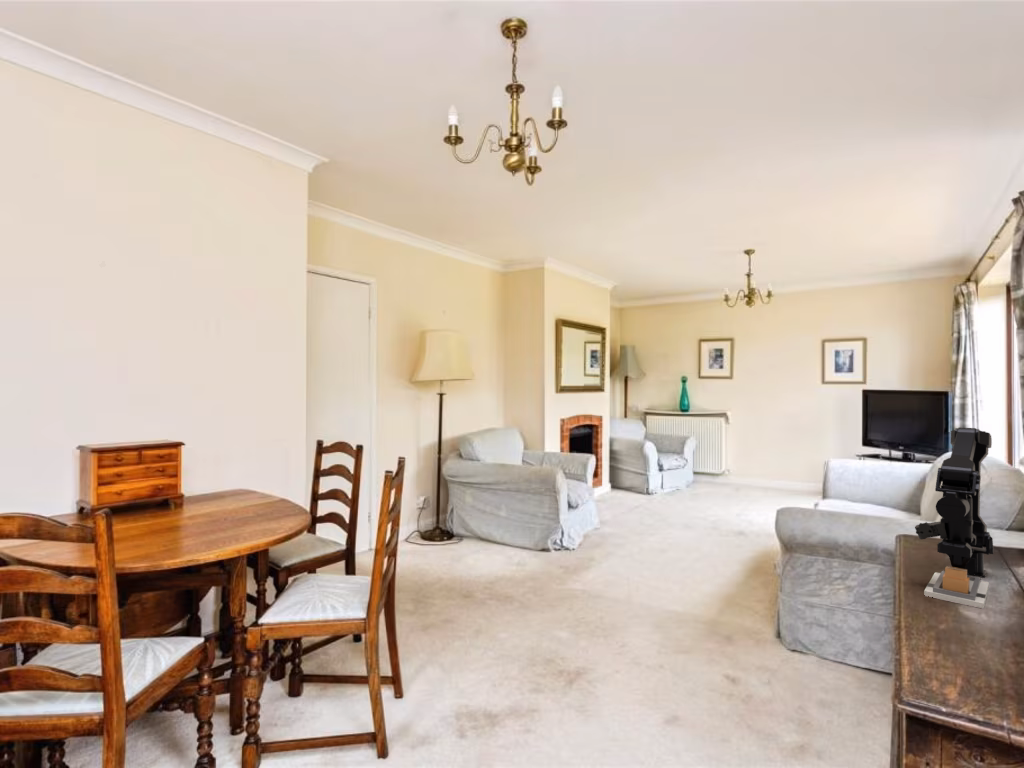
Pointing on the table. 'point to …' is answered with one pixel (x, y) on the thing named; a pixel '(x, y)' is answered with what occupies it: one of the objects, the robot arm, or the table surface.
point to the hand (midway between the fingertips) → (957, 576)
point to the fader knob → (956, 579)
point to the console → (973, 598)
